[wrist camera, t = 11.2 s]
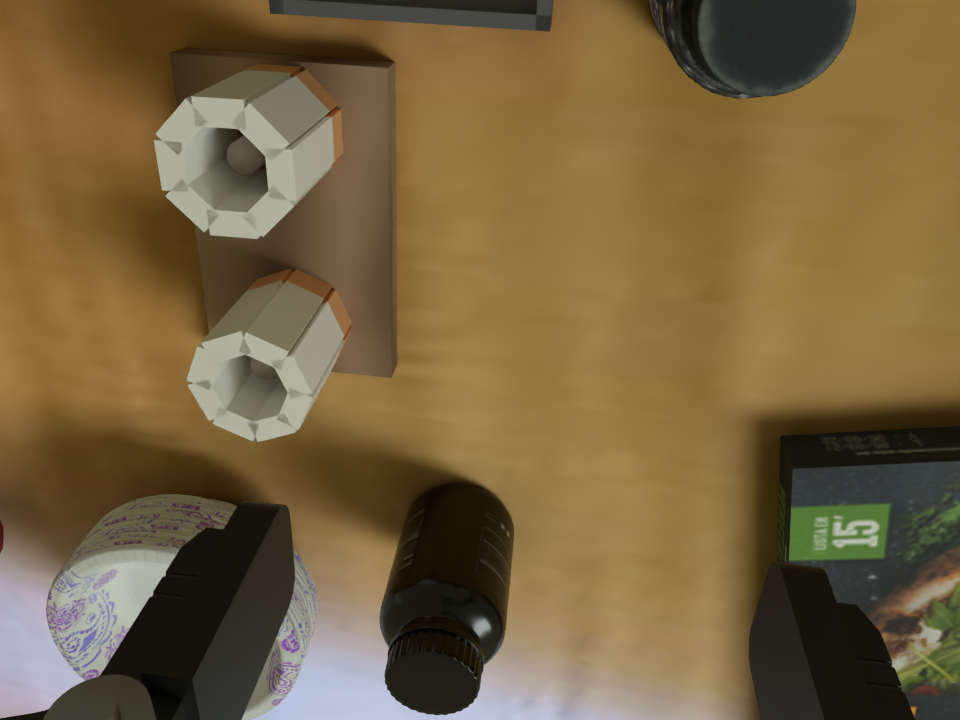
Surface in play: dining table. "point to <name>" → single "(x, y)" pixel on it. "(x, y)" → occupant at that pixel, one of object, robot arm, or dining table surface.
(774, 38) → the pill bottle
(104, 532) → the paper bowls
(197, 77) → the pin board
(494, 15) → the feeder tray
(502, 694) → the dining table surface
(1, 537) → the onion
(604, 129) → the dining table surface
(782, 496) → the pizza box
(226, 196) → the sleeve
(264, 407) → the seated sleeve
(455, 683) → the supplement bottle
